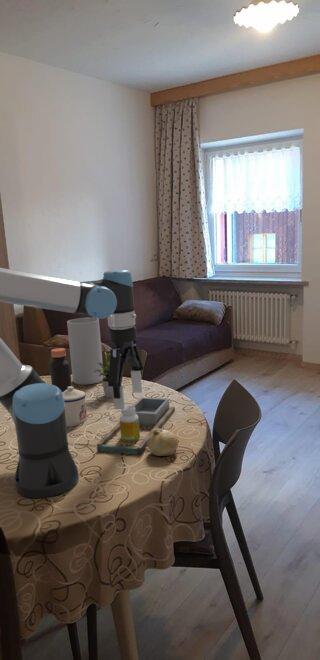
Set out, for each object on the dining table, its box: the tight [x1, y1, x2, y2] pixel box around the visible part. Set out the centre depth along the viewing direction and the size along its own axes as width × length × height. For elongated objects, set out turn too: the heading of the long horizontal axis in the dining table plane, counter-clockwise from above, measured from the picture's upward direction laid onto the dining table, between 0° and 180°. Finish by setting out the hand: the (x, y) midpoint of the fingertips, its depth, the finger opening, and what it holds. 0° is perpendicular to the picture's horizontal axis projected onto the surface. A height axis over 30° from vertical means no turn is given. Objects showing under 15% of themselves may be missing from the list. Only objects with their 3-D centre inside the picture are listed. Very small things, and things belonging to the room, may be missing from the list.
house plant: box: [94, 351, 125, 398], centre depth 186 cm, size 14×14×16 cm
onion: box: [147, 428, 179, 457], centre depth 135 cm, size 8×8×7 cm
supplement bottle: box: [119, 405, 141, 443], centre depth 144 cm, size 5×5×10 cm
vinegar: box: [49, 347, 73, 392], centre depth 177 cm, size 7×7×20 cm
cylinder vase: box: [66, 317, 105, 386], centre depth 204 cm, size 12×12×25 cm
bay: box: [96, 406, 176, 455], centre depth 152 cm, size 32×13×2 cm, turn 162°
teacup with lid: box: [62, 385, 88, 427], centre depth 162 cm, size 12×9×12 cm
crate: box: [132, 397, 171, 427], centre depth 160 cm, size 14×10×4 cm
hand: (128, 400), depth 143 cm, fingers open, 13 cm apart
